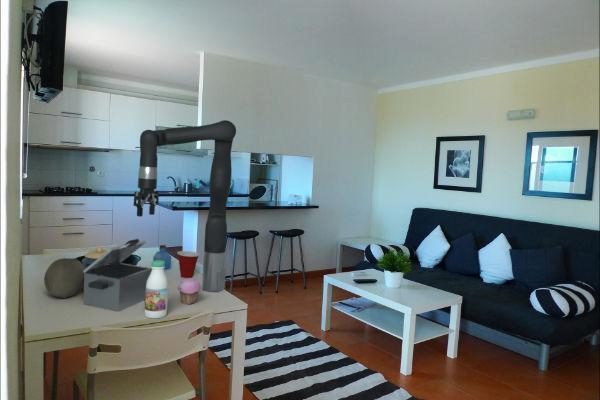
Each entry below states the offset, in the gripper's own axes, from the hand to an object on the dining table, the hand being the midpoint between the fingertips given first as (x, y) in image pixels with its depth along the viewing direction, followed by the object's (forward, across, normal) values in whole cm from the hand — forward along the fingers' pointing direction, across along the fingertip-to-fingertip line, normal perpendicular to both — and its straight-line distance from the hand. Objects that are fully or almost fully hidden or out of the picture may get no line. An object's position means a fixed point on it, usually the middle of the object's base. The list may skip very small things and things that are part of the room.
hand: (145, 215), depth 176 cm
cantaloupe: (+32, -21, +20) cm, 44 cm away
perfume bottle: (+32, +34, +12) cm, 48 cm away
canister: (+32, -6, +17) cm, 37 cm away
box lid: (+14, -16, 0) cm, 22 cm away
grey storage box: (+32, -18, -1) cm, 37 cm away
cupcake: (+32, -7, -26) cm, 42 cm away
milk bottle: (+32, -24, -22) cm, 46 cm away
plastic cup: (+32, +26, -7) cm, 42 cm away
